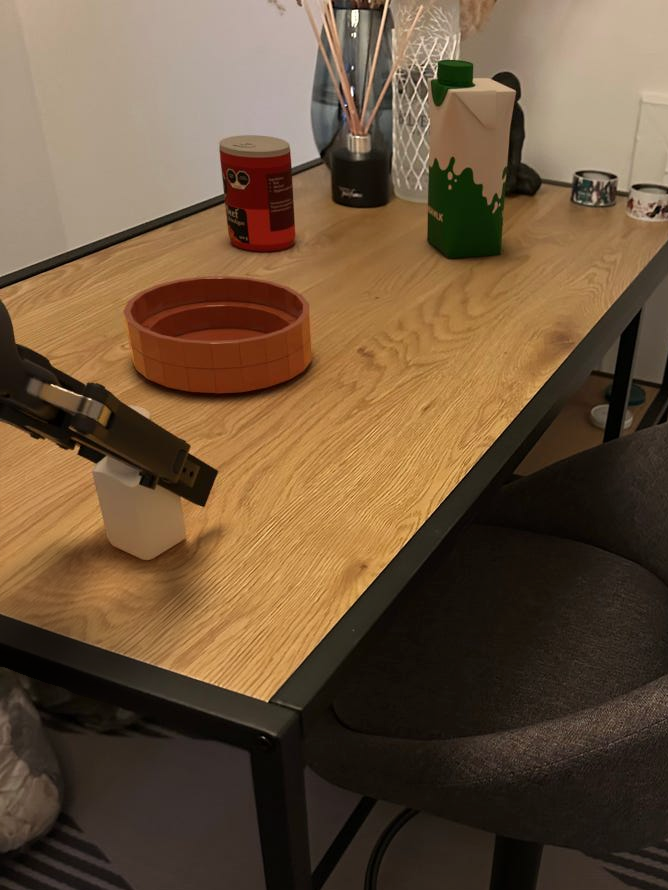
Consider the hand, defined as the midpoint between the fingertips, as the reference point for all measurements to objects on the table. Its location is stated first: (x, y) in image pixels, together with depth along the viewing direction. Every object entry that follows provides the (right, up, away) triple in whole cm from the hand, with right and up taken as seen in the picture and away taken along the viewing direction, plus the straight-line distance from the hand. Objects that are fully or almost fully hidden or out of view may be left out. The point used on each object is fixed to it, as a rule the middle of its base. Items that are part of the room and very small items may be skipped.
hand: (177, 477), depth 65 cm
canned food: (-5, +37, +49) cm, 62 cm away
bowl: (-3, +15, +23) cm, 27 cm away
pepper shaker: (-2, -5, 0) cm, 5 cm away
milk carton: (+19, +38, +52) cm, 67 cm away
